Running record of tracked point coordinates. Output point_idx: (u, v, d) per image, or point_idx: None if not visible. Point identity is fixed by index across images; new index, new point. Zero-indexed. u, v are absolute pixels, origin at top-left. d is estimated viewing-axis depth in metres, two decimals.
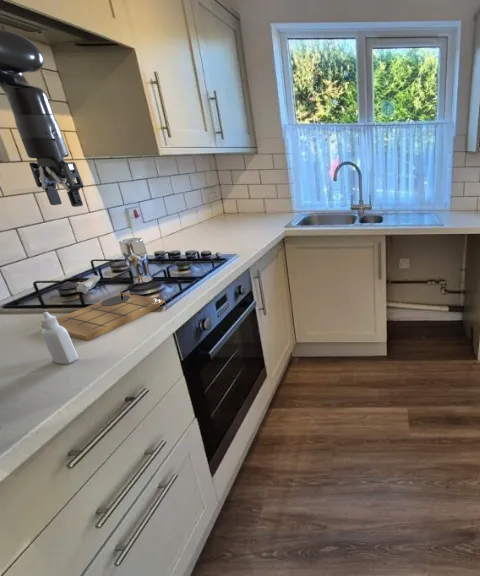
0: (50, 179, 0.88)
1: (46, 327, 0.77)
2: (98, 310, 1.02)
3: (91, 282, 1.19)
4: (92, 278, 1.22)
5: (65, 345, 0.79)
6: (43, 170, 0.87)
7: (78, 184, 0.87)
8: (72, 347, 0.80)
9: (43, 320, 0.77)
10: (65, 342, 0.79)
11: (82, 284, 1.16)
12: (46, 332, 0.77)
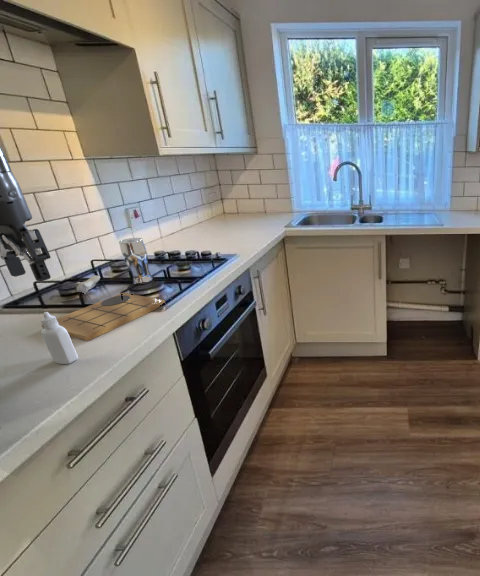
0: (9, 248, 0.71)
1: (46, 327, 0.77)
2: (98, 310, 1.02)
3: (91, 282, 1.19)
4: (92, 278, 1.22)
5: (65, 345, 0.79)
6: None
7: (43, 255, 0.70)
8: (72, 347, 0.80)
9: (43, 320, 0.77)
10: (65, 342, 0.79)
11: (82, 284, 1.16)
12: (46, 332, 0.77)
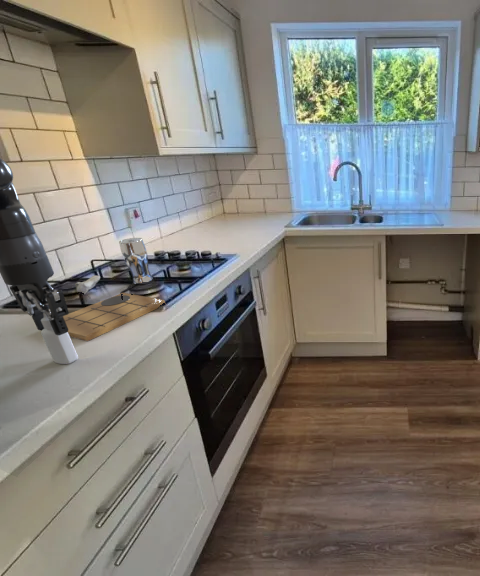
0: (32, 303, 0.75)
1: (46, 327, 0.77)
2: (98, 310, 1.02)
3: (91, 282, 1.19)
4: (92, 278, 1.22)
5: (65, 345, 0.79)
6: (23, 294, 0.74)
7: (62, 312, 0.75)
8: (72, 347, 0.80)
9: (43, 320, 0.77)
10: (65, 342, 0.79)
11: (82, 284, 1.16)
12: (46, 332, 0.77)
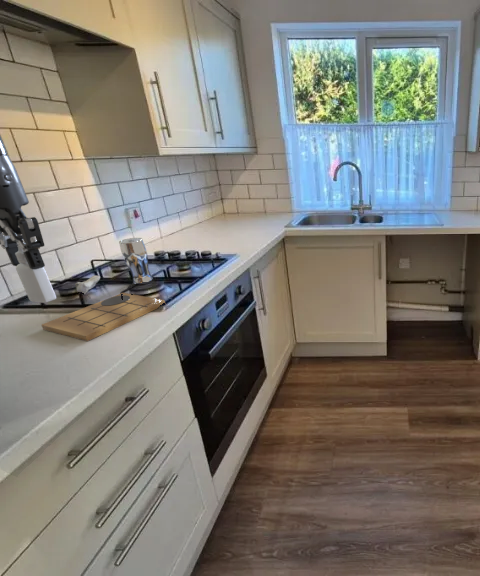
0: (5, 233, 0.71)
1: (21, 261, 0.72)
2: (98, 310, 1.02)
3: (91, 282, 1.19)
4: (92, 278, 1.22)
5: (42, 281, 0.74)
6: None
7: (37, 243, 0.70)
8: (49, 285, 0.75)
9: (17, 253, 0.72)
10: (42, 278, 0.74)
11: (82, 284, 1.16)
12: (20, 266, 0.72)
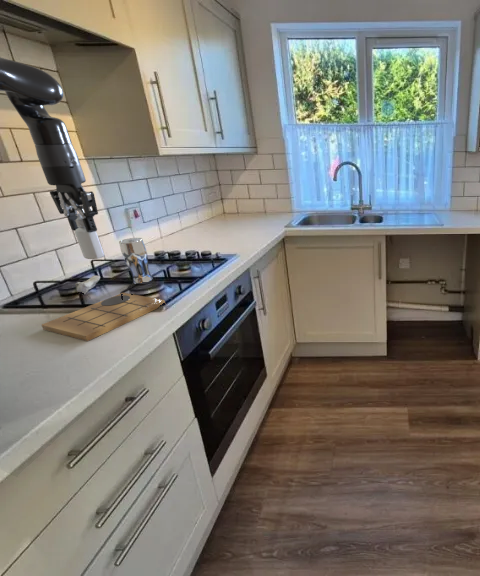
0: (68, 204, 0.93)
1: (79, 225, 0.94)
2: (98, 310, 1.02)
3: (91, 282, 1.19)
4: (92, 278, 1.22)
5: (94, 242, 0.96)
6: (62, 195, 0.91)
7: (93, 211, 0.92)
8: (100, 245, 0.97)
9: (77, 219, 0.94)
10: (95, 240, 0.96)
11: (82, 284, 1.16)
12: (79, 230, 0.94)
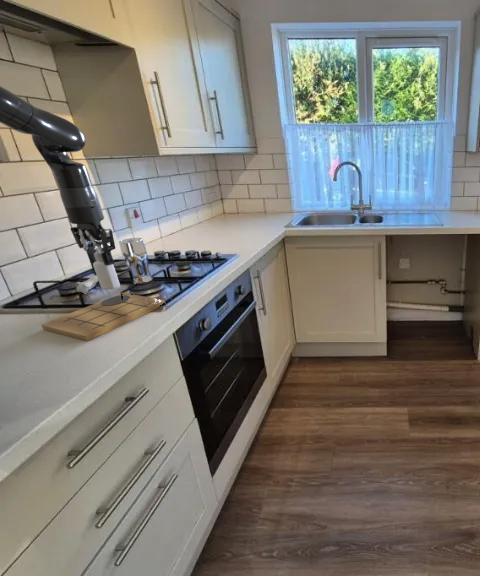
0: (88, 240, 1.00)
1: (98, 259, 1.01)
2: (98, 310, 1.02)
3: (91, 282, 1.19)
4: (92, 278, 1.22)
5: (111, 274, 1.03)
6: (82, 232, 0.98)
7: (111, 247, 0.99)
8: (116, 276, 1.04)
9: (96, 253, 1.01)
10: (112, 272, 1.03)
11: (82, 284, 1.16)
12: (97, 263, 1.02)
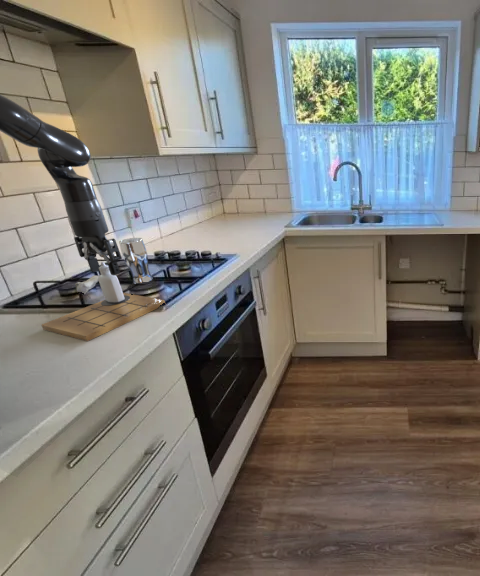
0: (92, 252, 1.01)
1: (102, 273, 1.03)
2: (98, 310, 1.02)
3: (91, 282, 1.19)
4: (92, 278, 1.22)
5: (116, 287, 1.05)
6: (87, 245, 1.00)
7: (117, 257, 1.00)
8: (120, 290, 1.06)
9: (100, 268, 1.03)
10: (116, 285, 1.05)
11: (82, 284, 1.16)
12: (102, 277, 1.03)
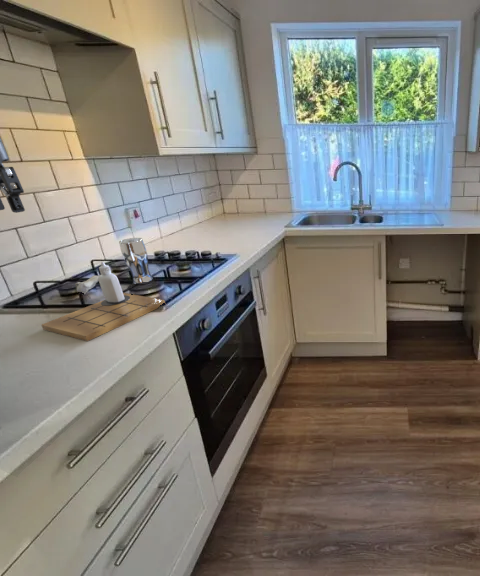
0: None
1: (102, 273, 1.03)
2: (98, 310, 1.02)
3: (91, 282, 1.19)
4: (92, 278, 1.22)
5: (116, 287, 1.05)
6: None
7: (17, 189, 0.85)
8: (120, 290, 1.06)
9: (100, 268, 1.03)
10: (116, 285, 1.05)
11: (82, 284, 1.16)
12: (102, 277, 1.03)
